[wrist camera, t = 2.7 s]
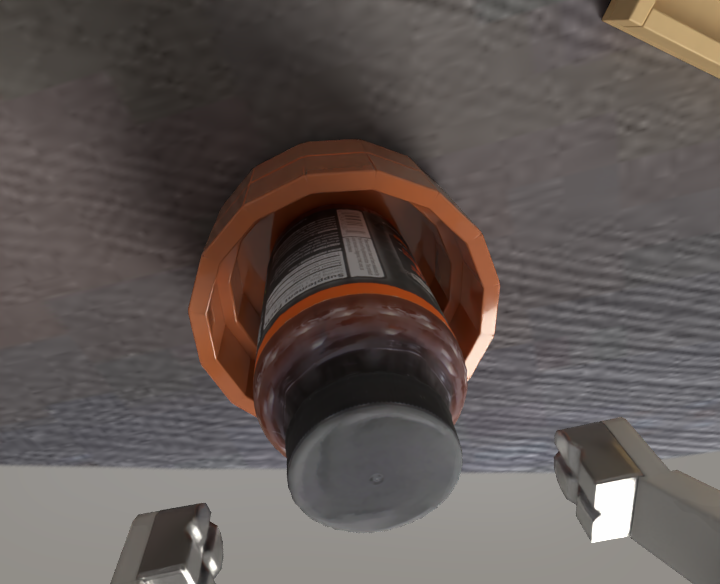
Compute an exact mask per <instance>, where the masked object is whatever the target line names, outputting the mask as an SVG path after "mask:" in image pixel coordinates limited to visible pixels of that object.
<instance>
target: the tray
mask: <svg viewBox="0 0 720 584" xmlns="http://www.w3.org/2000/svg"><path fill="white" fill-rule="evenodd" d="M602 21H603V22H605V23H607V24H609V25H611V26H613V27H616V28H618V29H620V30H622V31H624V32H626V33H628V34H630V35H632V36H634V37H636V38H638V39H640V40H642V41H644V42H646V43H648V44H650V45H652V46H654V47H656V48H658V49H660V50H662V51H664V52H666V53H668V54H670V55H672V56H674V57H676V58H678V59H680V60H682V61H684V62H686V63H688V64H691V65H693V66H695V67H697V68H699V69H701V70H703V71H705V72H707V73H709V74H711V75H713V76H715V77H717V78H719V79H720V0H611V2H610V4H609V6H608V8H607V10H606V12H605V14H604V16H603V18H602Z"/></svg>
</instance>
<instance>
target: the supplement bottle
mask: <svg viewBox="0 0 720 584" xmlns="http://www.w3.org/2000/svg"><path fill="white" fill-rule="evenodd" d="M467 386H468V384H467V368H466V365H465V361H464V358H463V354H462V351H461V349H460V346H459V344H458V342H457V340H456V338H455V336H454V334H453V332H452V330H451V329H450V327H449V325H448V322H447V319H446V318H445V316H444V314H443V312H442V311H441V309H440V307H439V305H438V303H437V301H436V299H435V297H434V295H433V294H432V292H431V290H430V288H429V286H428V285H427V282H426V281H425V279H424V277H423V275H422V273H421V270H420V269H419V267H418V265H417V263H416V261H415V259H414V257H413V255H412V253H411V251H410V249H409V246H408V245H407V243H406V242H405V240H404V239H403V237H402V236H401V235H400V234H399V232H398V231H397V229H396V228H395V227H394V226H393V225H392V224H391V223H390V222H389V221H388V220H387V219H385V218H384V217H382V216H381V215H379V214H378V213H377V212H375V211H373V210H371V209H368V208H365V207H363V206H358V205H351V204H328V205H324V206H320V207H317V208H314V209H312V210H310V211H307V212H305V213H303V214H302V215H300V216H299V217H297V218H296V219H294V220H293V221H292V222H291V223H290V224H289V225H288V226H287V227H286V228H285V229H284V230H283V231H282V233H281V234H280V236H279V237H278V239H277V240H276V242H275V244H274V247H273V250H272V252H271V256H270V260H269V263H268V268H267V276H266V283H265V290H264V298H263V306H262V312H261V320H260V327H259V335H258V344H257V352H256V360H255V368H254V377H253V398H254V408H255V412H256V416H257V418H258V421H259V424H260V426H261V428H262V430H263V432H264V433H265V435H266V437H267V438H268V440H269V441H270V442H271V444H272V445H273V446H274V447H275V448H276V449H277V450H278V451H279V452H280V453H281V454H282V455H283V456H285V457H286V458H287V481H288V488H289V490H290V492H291V495H292V498H293V500H294V502H295V503H296V504H297V505H298V506H299V507H300V509H301V510H302V511H303V512H304V513H305V514H306V515H308V516H309V517H310V518H311V519H312V520H314V521H316V522H318V523H321V524H323V525H325V526H327V527H332V528H333V529H335V530H344V531H348V532H356V533H367V532H368V533H373V532H379V531H388V530H391V529H394V528H397V527H401V526H404V525H406V524H409V523H411V522H414V521H416V520H418V519H421V518H423V517H424V516H425V515H427V514H428V513H429V512H431V511H433V510H434V509H435V508H437V507H438V506H439V505H440V504H441V503H443V502H444V501H445V500H446V499H447V497H448V496H449V495H450V493H451V492H452V490H453V489H454V487H455V485H456V484H457V482H458V480H459V476H460V472H461V469H462V450H461V446H460V443H459V439H458V436H457V433H456V430H455V427H454V425H455V423H456V421H457V419H458V417H459V416H460V413H461V410H462V408H463V405H464V401H465V398H466V392H467Z"/></svg>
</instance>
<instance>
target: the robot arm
mask: <svg viewBox="0 0 720 584" xmlns="http://www.w3.org/2000/svg"><path fill="white" fill-rule="evenodd" d="M554 443H555V445H556V447H557V448H558V450H559V451H558V453H557V454H556V455H555V457H554V469H555V473H556V477H557V481H558V483H559V485H560V488H561V490H562V492H563V494H564V495H565V497H566V499H568V500H569V501H571V502H572V503H574V504H576V505H577V507H576V516H577V518H578V520H579V522H580V524H581V525H582V527H583V529H584V530H585V532H586V534H587V535H588V537H589V539H590V541H591V542H598V541H604V540H609V539H615V538H621V537H626V536H631V539H633V540H634V541H635V542H637V543H638V544H639V545H641V546H642V547H644V548H645V549H646V550H648V551H649V552H650V553H652V554H653V555H655V556H656V557H657V558H659V559H660V560H661V561H663V562H664V563H666V564H667V565H668V566H670V567H671V568H672V569H674V570H675V571H676V572H678V573H679V574H680V575H682V576H683V577H684V578H686V579H687V580H689V581H690V582H691V583H693V584H720V490H718V489H715V488H713V487H711V486H709V485H707V484H705V483H703V482H701V481H699V480H696V479H695V478H693V477H691V476H688V475H687V474H684V473H682V472H680V471H678V470H675V471H670V470H669V469H668V468H667V467H666V465H665V464H664V463H663V462H662V461H661V460H660V458H659V457H658V456H657V455H656V454H655V453H654V451H653V450H652V449H651V448H650V447H649V446H648V444H647V443H646V442H645V441H644V440H643V439H642V437H641V436H640V435H639V434H638V433H637V432H636V430H635V429H634V428H633V427H632V426H631V425H630V423H629V422H628V421H627V420H626V419H624V418H622V417H619V418H615V419H610V420H605V421H600V422H594V423H590V424H585V425H580V426H576V427H571V428H567V429H562V430H557V431H556V433H555V440H554ZM210 516H211V511H210V510H209V508H208V506H207V504H206V503H200V504H194V505H188V506H183V507H177V508H171V509H166V510H160V511H156V512H151V513H145V514H139V515H138V516H137V517H136V518H135V519H134V521H133V522H132V525H131V528H130V530H129V533H128V536H127V539H126V541H125V544H124V547H123V550H122V552H121V555H120V558H119V561H118V564H117V567H116V569H115V572H114V575H113V577H112V580H111V583H110V584H215V582H214V578H215V577H216V576H217V574H218V573H219V572H220V570H221V568H222V561H223V541H222V537H221V533H220V531H219V528H218V526H217V525H215V524H213V523H212V522H210Z"/></svg>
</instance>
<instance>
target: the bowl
mask: <svg viewBox="0 0 720 584" xmlns="http://www.w3.org/2000/svg"><path fill="white" fill-rule="evenodd" d="M328 204H351V205H358V206H363V207H365V208H368V209H371V210H373V211H375V212H377V213H378V214H379V215H381V216H382V217H384V218H385V219H387V220H388V221H389V222H390V223H391V224H392V225H393V226H394V227H395V228H396V229H397V231H398V232H399V234H400V235H401V236H402V237H403V239H404V240H405V242H406V243H407V245H408V246H409V249H410V251H411V253H412V255H413V257H414V259H415V261H416V263H417V265H418V267H419V269H420V270H421V273H422V275H423V277H424V279H425V281H426V282H427V285H428V286H429V288H430V290H431V292H432V294H433V295H434V297H435V299H436V301H437V303H438V305H439V307H440V309H441V311H442V312H443V314H444V316H445V318H446V319H447V322H448V325H449V327H450V329H451V330H452V332H453V334H454V336H455V338H456V340H457V342H458V344H459V346H460V349H461V351H462V354H463V358H464V361H465V365H466V368H467V381H468V380H469V379H470V378H471V376H472V374H473V373H474V371H475V369H476V367H477V366H478V364H479V362H480V360H481V358H482V357H483V355H484V353H485V351H486V350H487V348H488V346H489V344H490V342H491V341H492V339H493V337H494V334H495V328H496V318H497V309H498V300H499V291H500V281H499V278H498V276H497V273H496V270H495V267H494V264H493V262H492V259H491V256H490V253H489V250H488V248H487V245H486V242H485V239H484V236H483V234H482V233H481V231H480V230H479V229H478V228H477V226H476V225H475V224H474V223H473V222H472V221H471V220H470V219H469V218H468V217H467V215H466V214H465V213H464V212H463V211H462V210H461V209H460V208H459V207H458V206H457V204H456V203H455V202H454V201H453V200H452V199H451V198H450V197H449V196H448V195H447V193H446V192H445V191H444V190H443V189H442V188H441V187H440V186H439V185H438V184H437V183H436V182H435V181H434V180H432V179H431V178H430V177H429V176H428V175H427V174H426V173H425V172H424V171H423V170H422V169H421V168H420V167H419V166H418V165H417V164H416V163H415V162H414V161H413V160H412V159H411V158H409V157H408V156H406V155H403V154H400V153H397V152H394V151H392V150H389V149H386V148H383V147H381V146H378V145H375V144H372V143H369V142H367V141H364V140H361V139H359V140H358V139H346V140H330V141H314V142H305V143H304V144H303V143H301V144H299V145H297V146H295V147H293V148H291V149H289V150H287V151H285V152H283V153H281V154H279V155H277V156H275V157H273V158H271V159H269V160H267V161H265V162H263V163H261V164H259V165H257V166H256V167H255V168H253V169H252V170H251V171H250V173H249V174H248V175H247V176H246V178H245V179H244V180H243V181H242V183H241V184H240V185H239V186H238V187H237V189H236V190H235V191H234V192H233V194H232V195H231V196H230V197H229V198H228V200H227V201H226V202H225V203H224V205H223V206H222V208H221V210H220V212H219V215H218V217H217V219H216V222H215V224H214V226H213V229H212V231H211V234H210V236H209V238H208V241H207V243H206V245H205V248H204V250H203V252H202V255H201V258H200V262H199V266H198V270H197V274H196V278H195V283H194V287H193V291H192V295H191V299H190V303H189V307H188V315H189V319H190V323H191V327H192V331H193V335H194V340H195V344H196V348H197V352H198V356H199V360H200V363H201V365H202V367H203V368H204V369H205V370H206V372H207V373H208V374H209V375H210V377H211V378H212V379H213V380H214V382H215V383H216V384H217V385H218V387H219V388H220V389H221V390H222V392H223V393H224V394H225V395H226V396H227V398H228V399H229V400H230V401H231V403H232V404H234V405H236V406H237V407H239V408H241V409H243V410H244V411H246V412H248V413H250V414H252V415H253V416H255V417H257V416H256V412H255V408H254V398H253V377H254V368H255V360H256V352H257V344H258V335H259V327H260V320H261V312H262V306H263V298H264V290H265V283H266V276H267V268H268V263H269V260H270V256H271V252H272V250H273V247H274V244H275V242H276V240H277V239H278V237H279V236H280V234H281V233H282V231H283V230H284V229H285V228H286V227H287V226H288V225H289V224H290V223H291V222H292V221H293V220H294V219H296V218H297V217H299V216H300V215H302V214H303V213H305V212H307V211H310V210H312V209H314V208H317V207H320V206H324V205H328Z"/></svg>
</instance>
